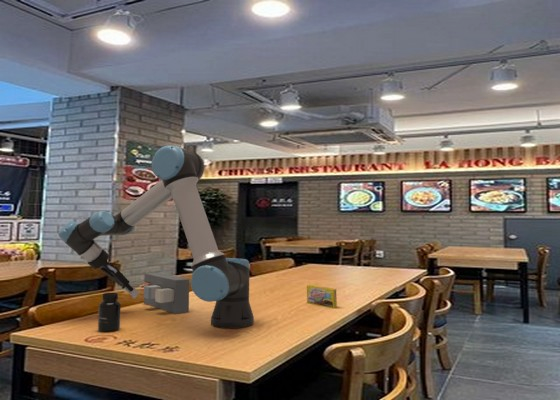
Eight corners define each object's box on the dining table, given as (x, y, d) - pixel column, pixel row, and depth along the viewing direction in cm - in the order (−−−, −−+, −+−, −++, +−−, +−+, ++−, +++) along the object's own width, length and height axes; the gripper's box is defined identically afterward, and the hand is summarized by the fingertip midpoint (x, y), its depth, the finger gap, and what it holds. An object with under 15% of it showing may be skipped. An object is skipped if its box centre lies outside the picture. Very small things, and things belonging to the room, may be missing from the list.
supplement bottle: (96, 333, 146) (97, 295, 147) (99, 328, 153) (100, 292, 153) (119, 331, 148) (120, 294, 148) (120, 327, 155) (121, 291, 155)
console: (175, 314, 176) (175, 280, 177) (143, 303, 198) (144, 273, 199) (188, 312, 180) (189, 279, 181) (156, 301, 202) (157, 272, 203)
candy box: (306, 303, 201) (306, 284, 201) (309, 303, 202) (309, 284, 203) (333, 309, 189) (333, 289, 189) (337, 308, 190) (337, 288, 191)
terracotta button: (148, 294, 194) (148, 283, 194) (143, 293, 197) (143, 282, 197) (165, 292, 199) (165, 282, 199) (160, 291, 202) (160, 280, 203)
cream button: (160, 303, 174) (160, 290, 174) (155, 301, 177) (155, 289, 178) (179, 300, 179) (179, 289, 179) (173, 299, 183) (174, 287, 183)
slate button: (148, 299, 182) (148, 287, 182) (143, 297, 186) (143, 286, 186) (166, 297, 187) (166, 285, 188) (161, 295, 191) (161, 284, 191)
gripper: (81, 261, 175) (123, 300, 185) (93, 264, 165) (136, 305, 175) (96, 247, 178) (136, 286, 188) (108, 249, 168) (149, 290, 178)
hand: (136, 295), depth 182 cm, fingers closed
